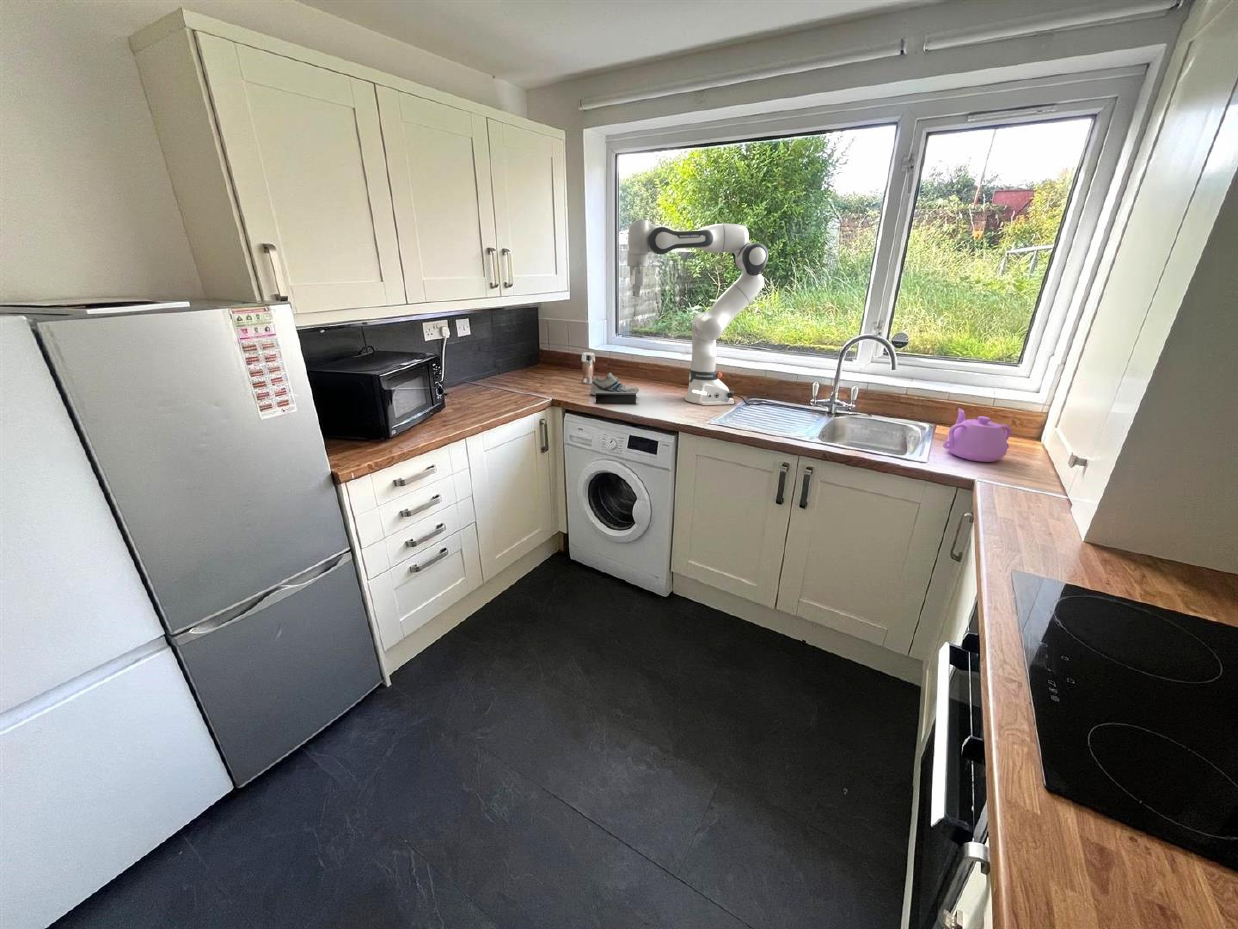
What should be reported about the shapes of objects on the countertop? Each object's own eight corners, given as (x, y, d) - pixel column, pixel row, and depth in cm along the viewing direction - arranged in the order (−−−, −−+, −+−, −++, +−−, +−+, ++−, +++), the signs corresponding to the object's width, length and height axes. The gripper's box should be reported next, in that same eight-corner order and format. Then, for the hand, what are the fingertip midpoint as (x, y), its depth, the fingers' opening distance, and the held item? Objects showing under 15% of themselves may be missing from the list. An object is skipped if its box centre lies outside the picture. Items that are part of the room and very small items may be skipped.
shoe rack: (635, 403, 223) (636, 392, 221) (635, 404, 222) (636, 392, 220) (595, 402, 222) (595, 391, 220) (595, 403, 221) (595, 392, 219)
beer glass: (597, 382, 263) (597, 353, 257) (591, 384, 257) (591, 355, 251) (585, 380, 265) (585, 352, 260) (579, 382, 259) (579, 353, 254)
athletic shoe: (638, 398, 230) (639, 372, 228) (588, 398, 230) (589, 371, 228) (638, 398, 240) (638, 373, 238) (590, 398, 240) (590, 372, 238)
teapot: (977, 444, 183) (988, 407, 178) (1023, 465, 163) (1037, 425, 158) (918, 442, 182) (928, 406, 177) (957, 464, 162) (969, 423, 157)
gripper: (647, 262, 201) (646, 298, 206) (642, 262, 220) (640, 295, 225) (632, 261, 201) (630, 297, 206) (628, 261, 220) (626, 294, 225)
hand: (635, 296), depth 216 cm, fingers open, 8 cm apart
